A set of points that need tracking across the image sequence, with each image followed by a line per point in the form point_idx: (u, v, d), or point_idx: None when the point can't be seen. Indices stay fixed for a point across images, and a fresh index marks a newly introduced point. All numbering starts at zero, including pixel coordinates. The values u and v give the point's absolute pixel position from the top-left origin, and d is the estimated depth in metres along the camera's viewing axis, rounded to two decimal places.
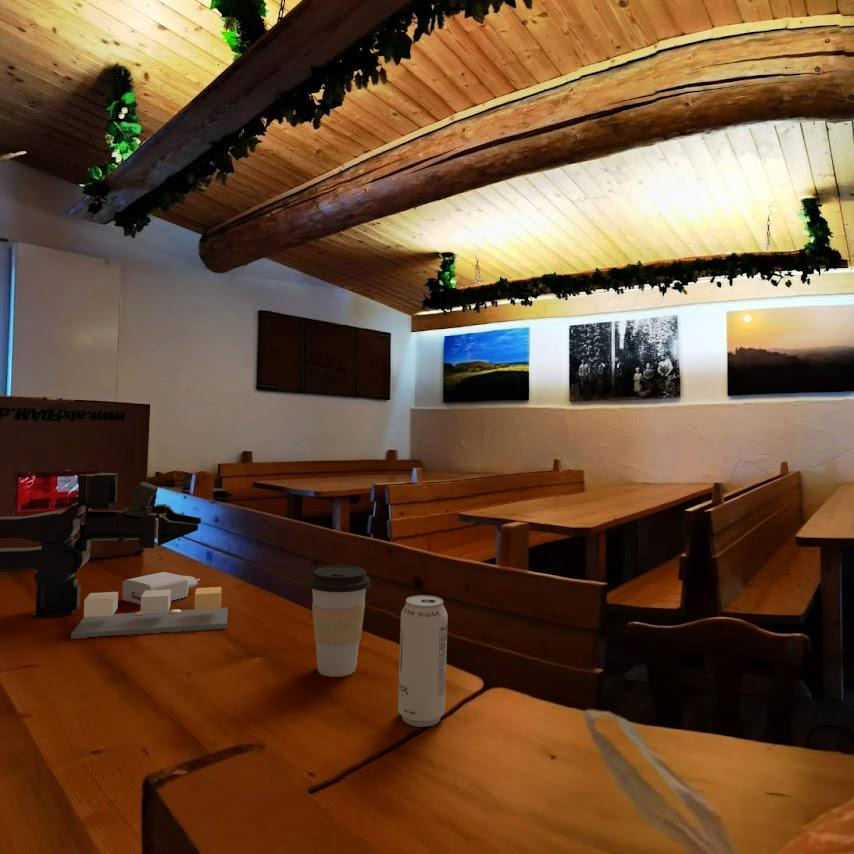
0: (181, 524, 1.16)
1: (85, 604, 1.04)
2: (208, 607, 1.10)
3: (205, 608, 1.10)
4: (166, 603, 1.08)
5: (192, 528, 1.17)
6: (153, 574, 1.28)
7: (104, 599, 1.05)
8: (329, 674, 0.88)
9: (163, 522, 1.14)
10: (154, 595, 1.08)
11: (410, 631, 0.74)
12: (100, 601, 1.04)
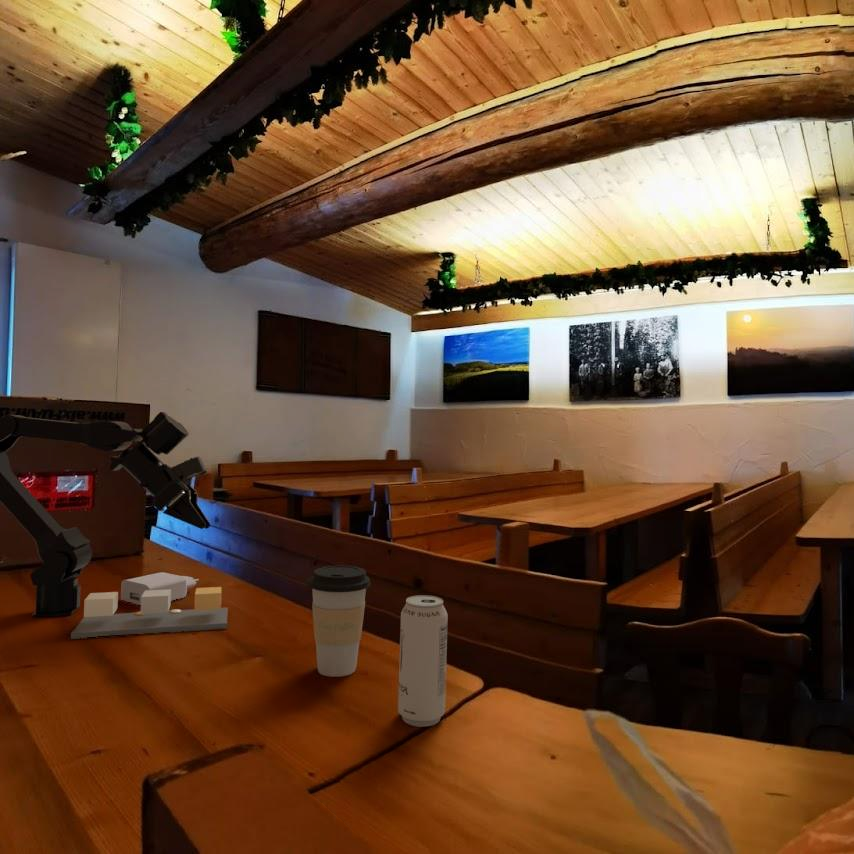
0: (194, 513, 1.12)
1: (85, 604, 1.04)
2: (208, 607, 1.10)
3: (205, 608, 1.10)
4: (166, 603, 1.08)
5: (199, 524, 1.13)
6: (151, 574, 1.28)
7: (104, 599, 1.05)
8: (329, 674, 0.88)
9: (185, 498, 1.11)
10: (154, 595, 1.08)
11: (410, 631, 0.74)
12: (100, 601, 1.04)
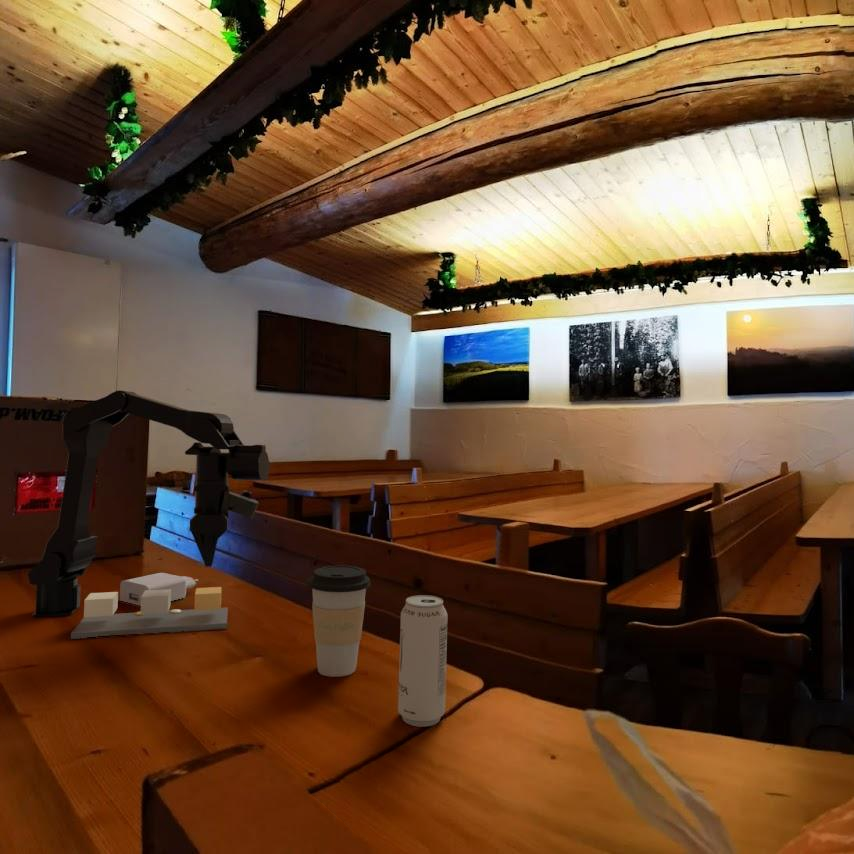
0: (213, 550, 1.08)
1: (85, 604, 1.04)
2: (208, 607, 1.10)
3: (205, 608, 1.10)
4: (166, 603, 1.08)
5: (208, 561, 1.08)
6: (151, 575, 1.27)
7: (104, 599, 1.05)
8: (329, 674, 0.88)
9: (217, 534, 1.07)
10: (154, 595, 1.08)
11: (410, 631, 0.74)
12: (100, 601, 1.04)
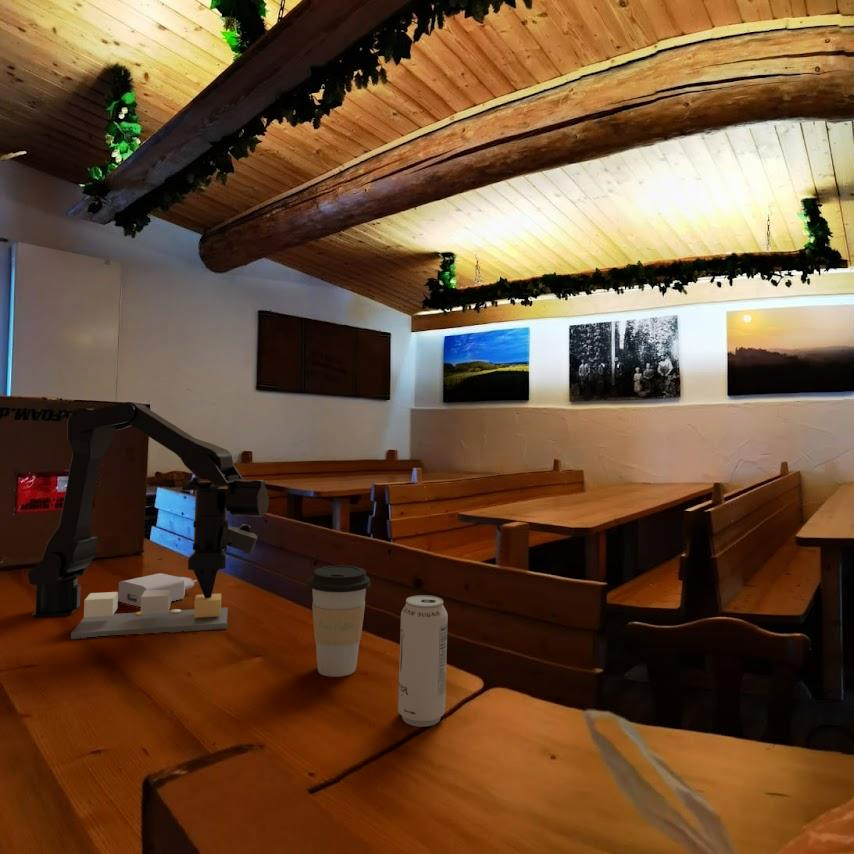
0: (212, 582, 1.11)
1: (85, 604, 1.04)
2: (208, 614, 1.10)
3: (205, 615, 1.09)
4: (166, 603, 1.08)
5: (207, 593, 1.11)
6: (149, 575, 1.27)
7: (104, 599, 1.05)
8: (329, 674, 0.88)
9: None
10: (154, 595, 1.08)
11: (410, 631, 0.74)
12: (100, 601, 1.04)
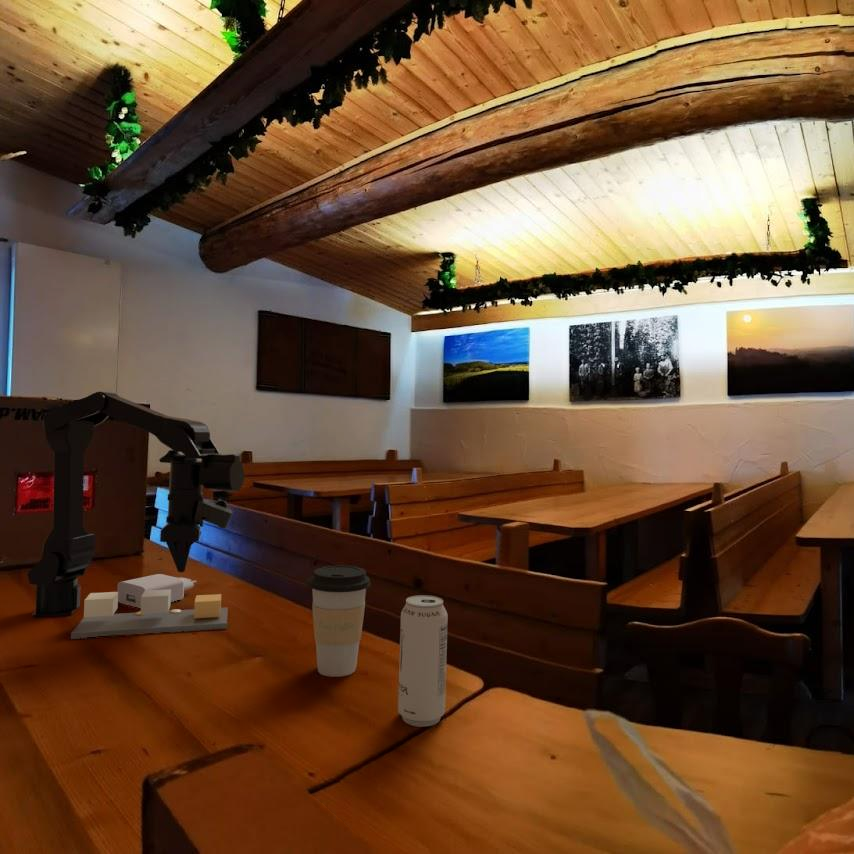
0: (185, 556, 1.10)
1: (85, 604, 1.04)
2: (208, 615, 1.10)
3: (205, 615, 1.09)
4: (166, 603, 1.08)
5: (180, 567, 1.10)
6: (148, 576, 1.26)
7: (104, 599, 1.05)
8: (329, 674, 0.88)
9: None
10: (154, 595, 1.08)
11: (410, 631, 0.74)
12: (100, 601, 1.04)
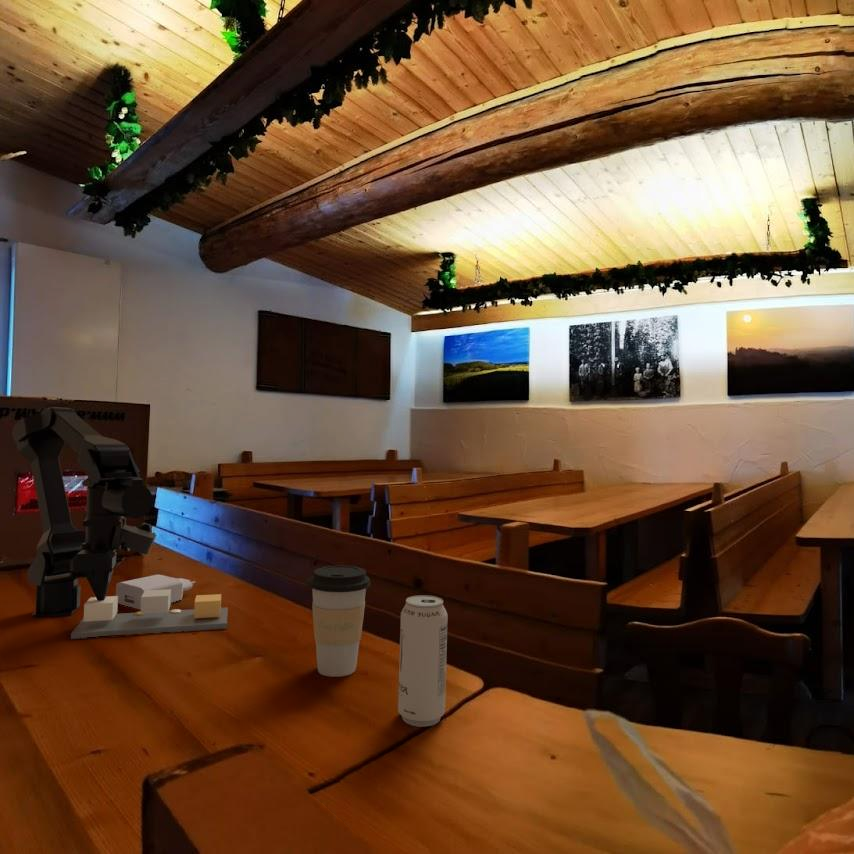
0: (105, 584, 1.06)
1: (85, 608, 1.04)
2: (208, 615, 1.10)
3: (205, 615, 1.09)
4: (166, 603, 1.08)
5: (100, 595, 1.06)
6: (147, 577, 1.26)
7: (104, 603, 1.05)
8: (329, 674, 0.88)
9: None
10: (154, 595, 1.08)
11: (410, 631, 0.74)
12: (100, 605, 1.04)
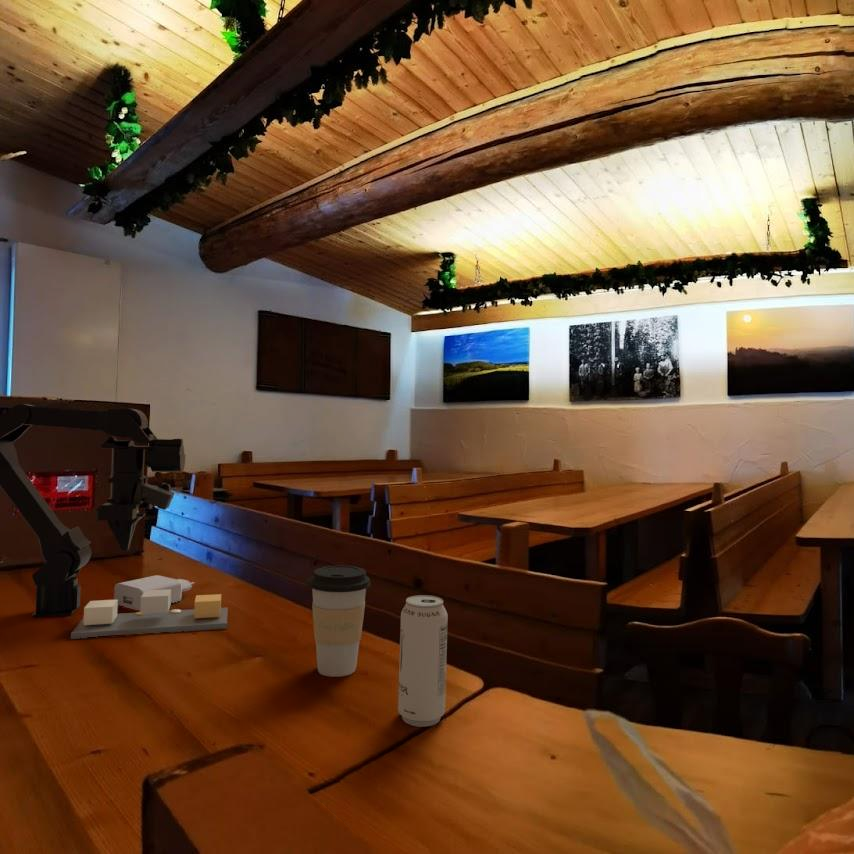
0: (127, 535, 1.17)
1: (85, 612, 1.04)
2: (208, 615, 1.10)
3: (205, 615, 1.09)
4: (166, 603, 1.08)
5: (123, 546, 1.17)
6: (146, 577, 1.25)
7: (104, 607, 1.05)
8: (329, 674, 0.88)
9: (130, 521, 1.16)
10: (154, 595, 1.08)
11: (410, 631, 0.74)
12: (100, 609, 1.04)
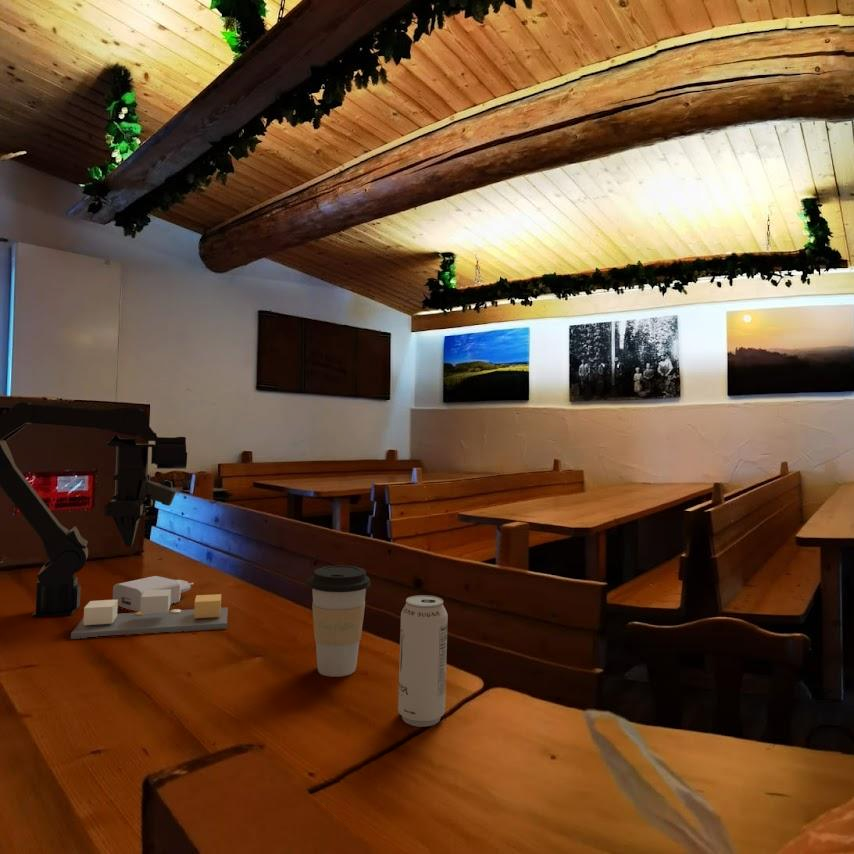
0: (132, 531, 1.20)
1: (85, 612, 1.04)
2: (208, 615, 1.10)
3: (205, 615, 1.09)
4: (166, 603, 1.08)
5: (128, 541, 1.20)
6: (144, 578, 1.24)
7: (104, 607, 1.05)
8: (329, 674, 0.88)
9: (135, 517, 1.19)
10: (154, 595, 1.08)
11: (410, 631, 0.74)
12: (100, 609, 1.04)
